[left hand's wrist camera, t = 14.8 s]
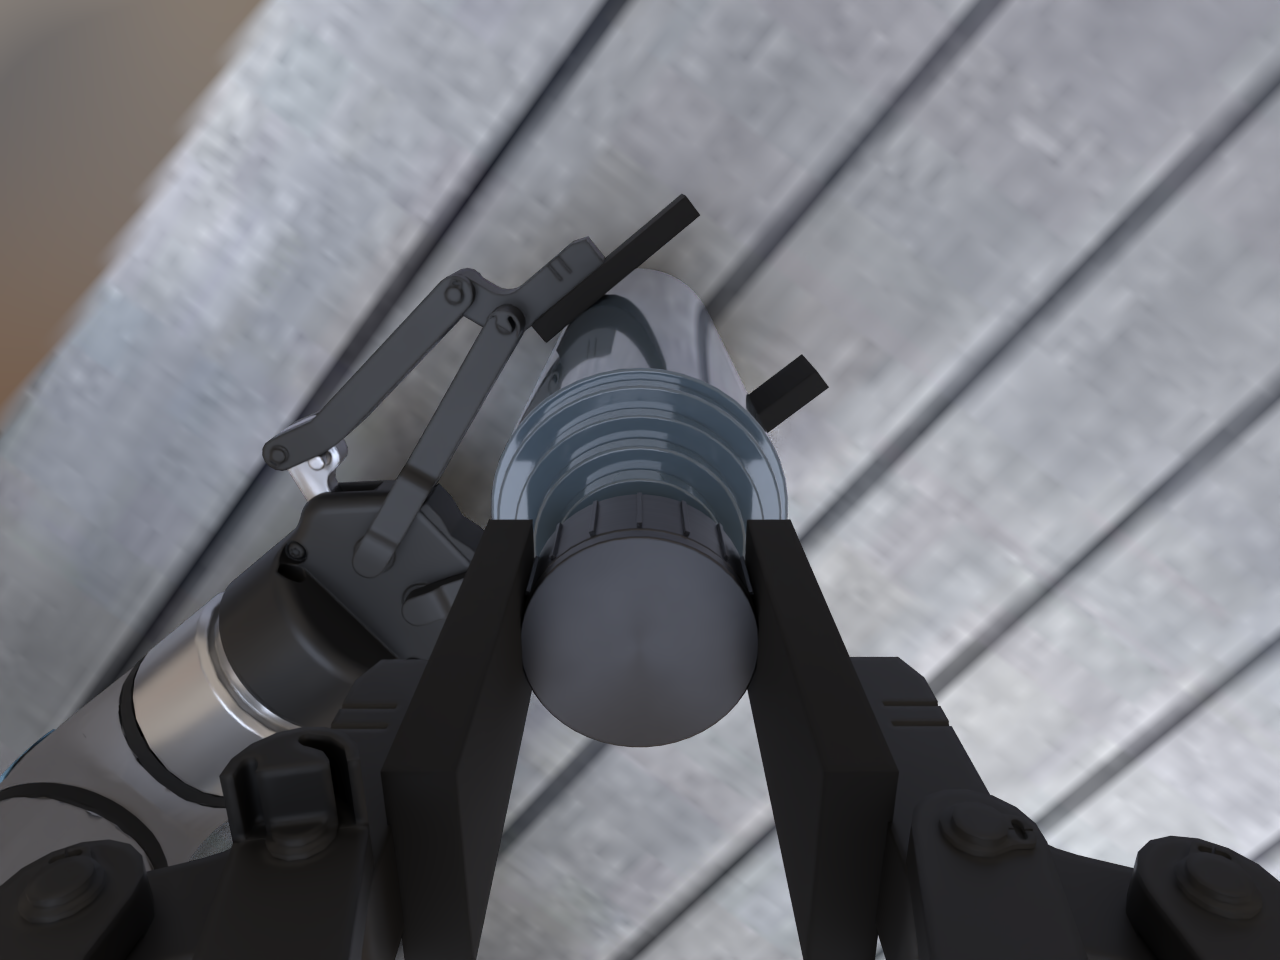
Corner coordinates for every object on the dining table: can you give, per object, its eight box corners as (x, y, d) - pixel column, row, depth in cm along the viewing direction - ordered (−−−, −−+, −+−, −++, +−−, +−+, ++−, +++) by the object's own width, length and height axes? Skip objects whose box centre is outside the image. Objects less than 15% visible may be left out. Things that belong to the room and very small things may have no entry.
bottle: (535, 358, 36) (362, 663, 14) (625, 235, 35) (599, 354, 12) (652, 445, 38) (671, 853, 15) (745, 332, 36) (924, 601, 13)
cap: (558, 701, 16) (548, 766, 14) (506, 514, 14) (488, 560, 13) (762, 666, 15) (778, 728, 14) (729, 472, 14) (741, 514, 12)
